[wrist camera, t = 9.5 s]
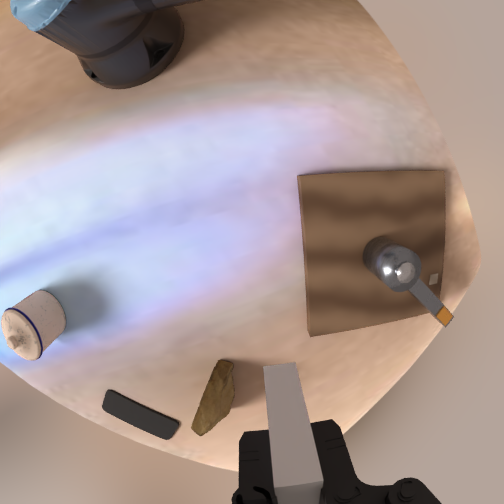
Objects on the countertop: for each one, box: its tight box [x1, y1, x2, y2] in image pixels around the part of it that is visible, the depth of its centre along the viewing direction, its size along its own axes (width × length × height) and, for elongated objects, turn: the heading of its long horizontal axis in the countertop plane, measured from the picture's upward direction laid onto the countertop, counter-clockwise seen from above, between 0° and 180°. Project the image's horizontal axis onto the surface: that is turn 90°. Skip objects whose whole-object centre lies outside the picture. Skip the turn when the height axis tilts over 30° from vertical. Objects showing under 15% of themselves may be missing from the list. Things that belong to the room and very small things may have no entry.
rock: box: [191, 360, 234, 436], centre depth 41 cm, size 11×9×10 cm
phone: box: [102, 390, 179, 440], centre depth 46 cm, size 7×1×15 cm
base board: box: [297, 170, 445, 337], centre depth 38 cm, size 22×22×2 cm
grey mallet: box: [363, 237, 454, 327], centre depth 34 cm, size 17×5×8 cm, turn 53°
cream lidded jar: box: [1, 290, 66, 360], centre depth 35 cm, size 12×9×12 cm
